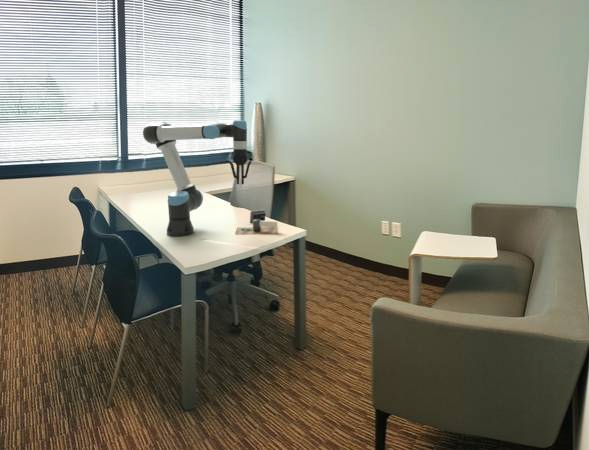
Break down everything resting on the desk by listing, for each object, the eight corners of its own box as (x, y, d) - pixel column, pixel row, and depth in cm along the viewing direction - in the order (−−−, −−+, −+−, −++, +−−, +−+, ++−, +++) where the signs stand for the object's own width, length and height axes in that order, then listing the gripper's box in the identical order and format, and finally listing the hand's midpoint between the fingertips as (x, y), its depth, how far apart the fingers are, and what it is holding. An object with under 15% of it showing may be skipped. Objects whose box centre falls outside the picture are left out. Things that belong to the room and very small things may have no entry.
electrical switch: (263, 222, 304) (263, 208, 301) (266, 225, 299) (266, 211, 296) (249, 224, 300) (249, 210, 297) (252, 227, 296) (252, 212, 293)
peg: (240, 230, 280) (239, 219, 279) (242, 228, 284) (242, 218, 283) (275, 232, 275) (275, 222, 273) (278, 230, 279) (277, 220, 278)
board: (234, 236, 272) (234, 233, 272) (237, 229, 288) (237, 226, 287) (277, 236, 273) (277, 233, 272) (277, 229, 288) (277, 226, 288)
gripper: (227, 148, 268) (228, 191, 274) (251, 149, 269) (251, 191, 274) (229, 147, 275) (229, 188, 281) (252, 148, 276) (252, 189, 282)
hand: (240, 190), depth 278 cm, fingers closed
